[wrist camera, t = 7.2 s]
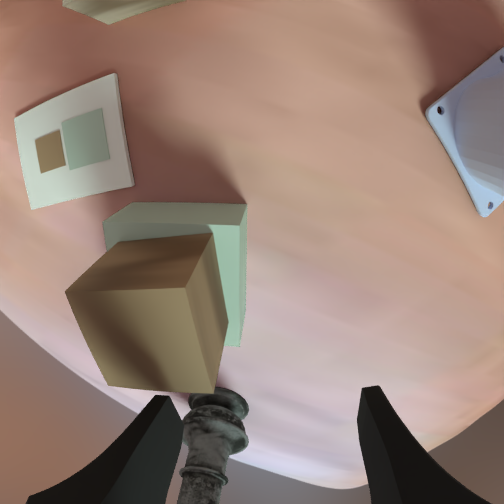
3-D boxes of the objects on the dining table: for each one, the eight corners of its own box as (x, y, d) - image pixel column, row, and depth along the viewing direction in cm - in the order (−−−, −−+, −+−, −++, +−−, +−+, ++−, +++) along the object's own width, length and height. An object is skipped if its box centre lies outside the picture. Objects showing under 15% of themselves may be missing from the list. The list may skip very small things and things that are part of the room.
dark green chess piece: (172, 391, 24) (131, 512, 13) (230, 377, 23) (204, 519, 12) (208, 428, 26) (184, 537, 15) (263, 417, 25) (253, 540, 14)
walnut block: (213, 232, 14) (185, 287, 10) (228, 322, 16) (213, 393, 12) (118, 241, 15) (64, 291, 10) (142, 323, 17) (108, 385, 12)
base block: (247, 202, 18) (239, 225, 14) (246, 307, 20) (239, 346, 17) (134, 201, 18) (102, 221, 14) (146, 299, 21) (124, 333, 17)
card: (117, 73, 15) (113, 72, 14) (134, 184, 17) (131, 186, 17) (17, 118, 16) (13, 118, 15) (34, 208, 18) (30, 210, 18)
